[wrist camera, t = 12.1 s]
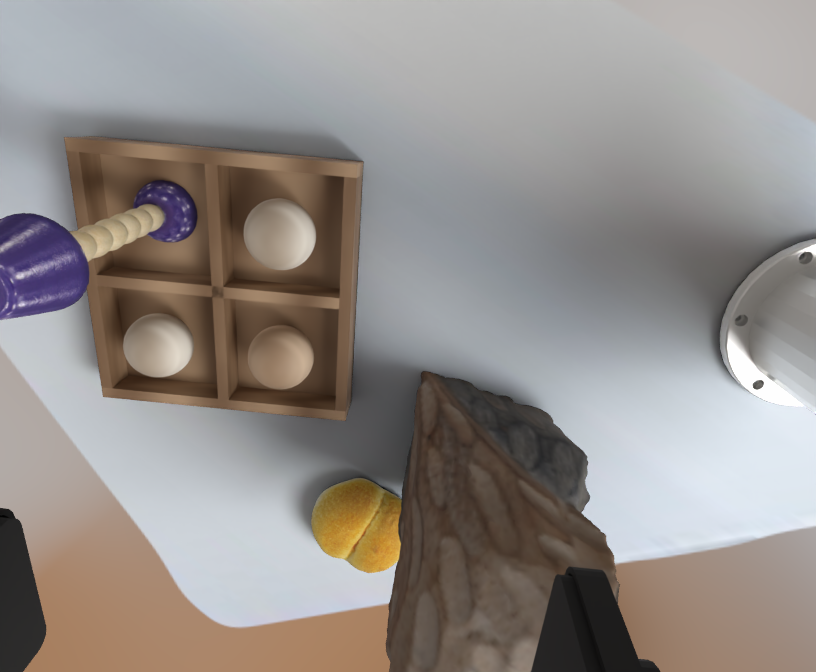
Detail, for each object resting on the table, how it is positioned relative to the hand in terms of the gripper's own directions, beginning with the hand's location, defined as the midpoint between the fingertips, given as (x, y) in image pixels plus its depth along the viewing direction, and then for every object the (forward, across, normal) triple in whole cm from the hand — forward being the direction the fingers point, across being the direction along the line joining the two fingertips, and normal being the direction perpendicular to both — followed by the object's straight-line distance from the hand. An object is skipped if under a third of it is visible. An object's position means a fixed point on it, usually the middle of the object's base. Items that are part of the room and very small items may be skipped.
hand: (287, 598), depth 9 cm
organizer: (+30, +12, +4) cm, 33 cm away
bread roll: (+31, +1, +25) cm, 39 cm away
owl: (+31, -7, +15) cm, 35 cm away
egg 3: (+30, +8, +8) cm, 32 cm away
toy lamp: (+30, +16, 0) cm, 34 cm away
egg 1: (+30, +16, +8) cm, 35 cm away
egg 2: (+30, +8, 0) cm, 30 cm away
